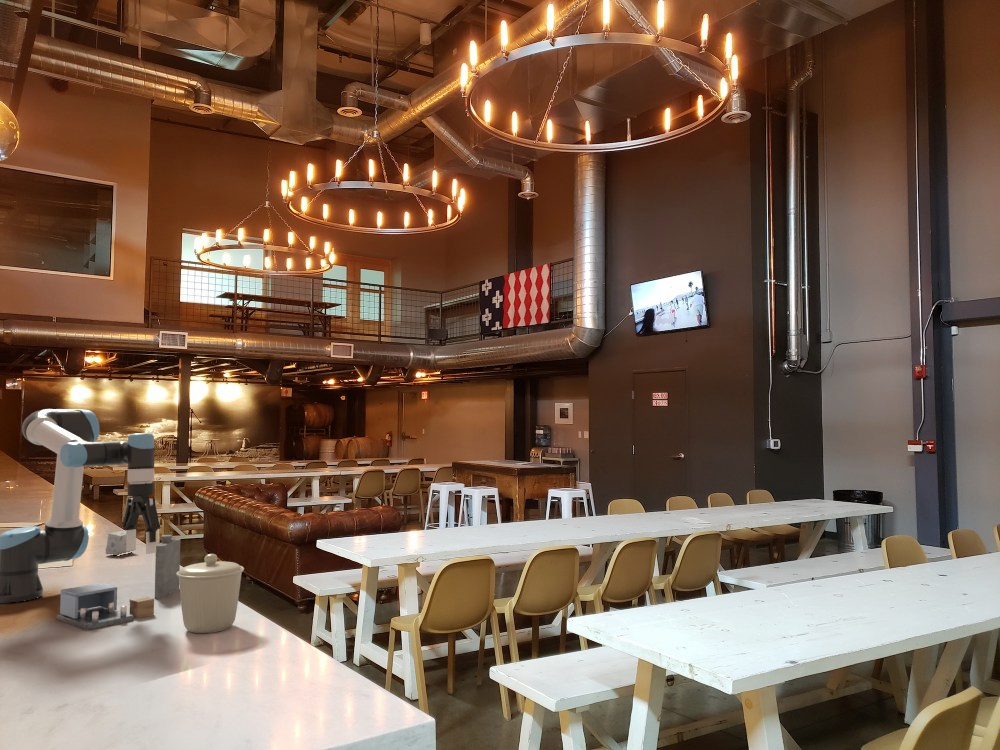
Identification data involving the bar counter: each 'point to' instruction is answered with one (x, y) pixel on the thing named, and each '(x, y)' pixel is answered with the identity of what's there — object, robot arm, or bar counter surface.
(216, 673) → the bar counter surface
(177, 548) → the hip flask
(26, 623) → the bar counter surface
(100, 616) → the housing base
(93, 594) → the housing cover
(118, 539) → the incense holder
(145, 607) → the light brown cube
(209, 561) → the canister
